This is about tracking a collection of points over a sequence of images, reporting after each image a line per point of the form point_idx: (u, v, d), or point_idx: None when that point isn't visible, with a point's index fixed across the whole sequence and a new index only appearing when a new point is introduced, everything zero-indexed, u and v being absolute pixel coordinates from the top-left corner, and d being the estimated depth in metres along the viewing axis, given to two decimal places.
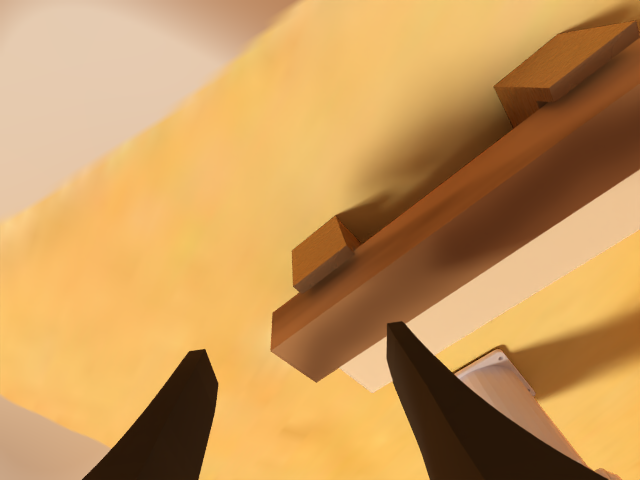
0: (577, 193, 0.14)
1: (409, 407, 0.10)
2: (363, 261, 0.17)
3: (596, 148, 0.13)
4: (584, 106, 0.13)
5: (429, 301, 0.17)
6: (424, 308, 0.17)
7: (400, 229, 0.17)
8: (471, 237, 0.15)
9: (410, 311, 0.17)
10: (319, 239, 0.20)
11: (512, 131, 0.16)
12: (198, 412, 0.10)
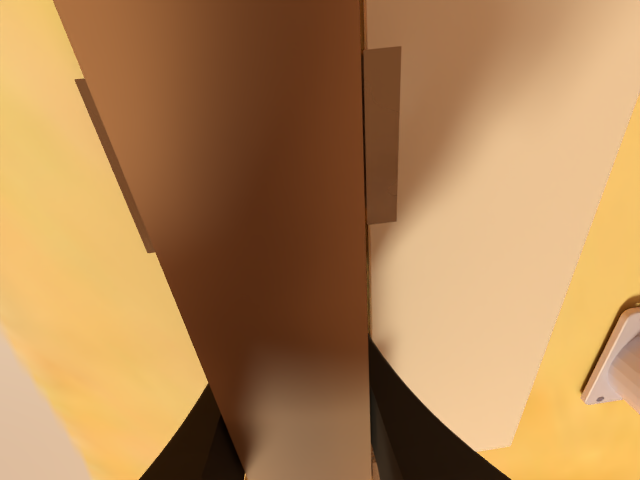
0: (328, 334, 0.07)
1: None
2: None
3: (248, 298, 0.06)
4: None
5: None
6: None
7: None
8: (293, 459, 0.09)
9: None
10: None
11: None
12: None
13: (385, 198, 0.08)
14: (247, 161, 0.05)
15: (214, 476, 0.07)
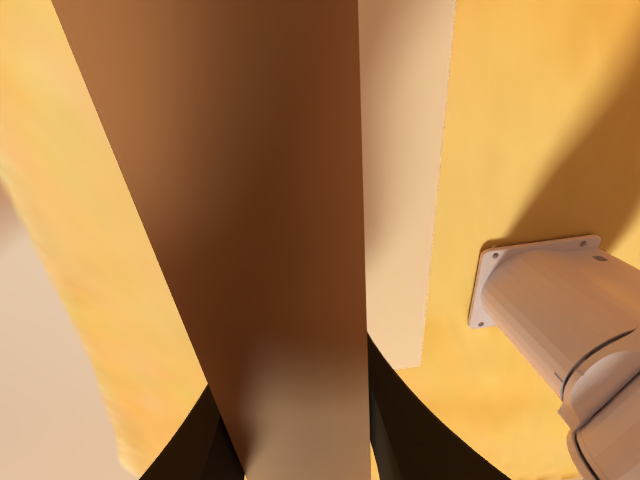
0: (328, 334, 0.07)
1: None
2: None
3: (247, 298, 0.06)
4: None
5: None
6: None
7: None
8: (293, 459, 0.09)
9: None
10: None
11: None
12: None
13: None
14: (245, 161, 0.05)
15: (214, 476, 0.07)
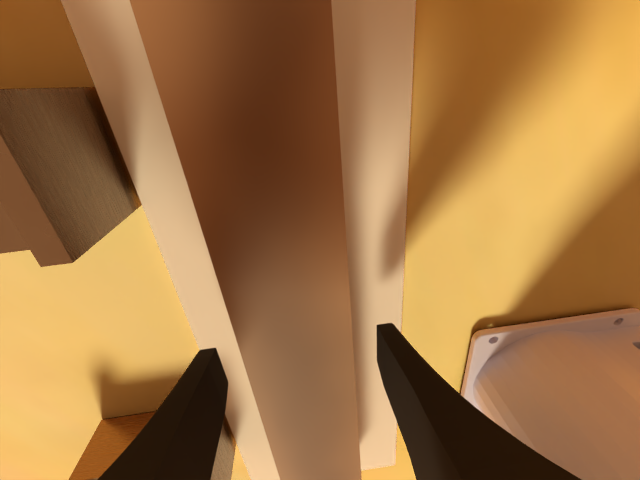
0: (318, 272, 0.09)
1: (398, 409, 0.10)
2: None
3: (258, 241, 0.09)
4: None
5: (349, 431, 0.13)
6: (354, 437, 0.14)
7: None
8: (293, 384, 0.12)
9: (346, 446, 0.14)
10: None
11: None
12: (210, 410, 0.10)
13: (46, 240, 0.07)
14: (258, 136, 0.07)
15: None
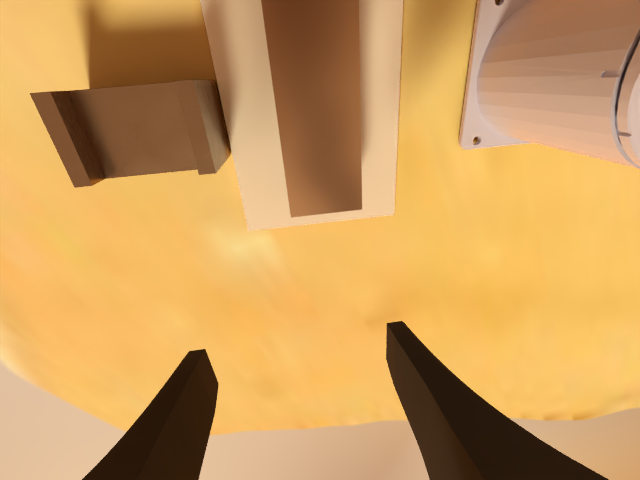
0: None
1: (409, 407, 0.10)
2: None
3: None
4: None
5: (349, 22, 0.13)
6: (355, 35, 0.13)
7: None
8: None
9: (346, 54, 0.13)
10: None
11: None
12: (198, 412, 0.10)
13: None
14: None
15: None
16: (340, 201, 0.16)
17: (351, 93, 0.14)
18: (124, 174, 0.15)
